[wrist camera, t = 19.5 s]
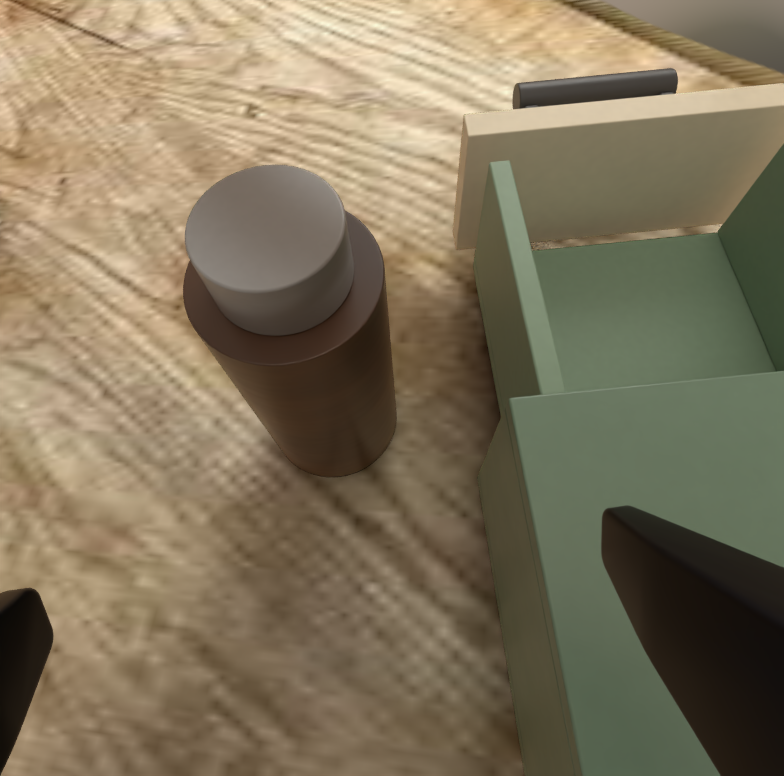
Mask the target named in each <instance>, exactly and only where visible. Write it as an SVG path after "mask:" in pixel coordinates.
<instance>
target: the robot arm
mask: <svg viewBox="0 0 784 776" xmlns="http://www.w3.org/2000/svg"><path fill="white" fill-rule="evenodd" d="M601 555H602V560H603V564H604V567H605V569H606V571H607V573H608V575H609V577H610V579H611V582H612V584H613V586H614V588H615V590H616V592H617V594H618V596H619V598H620V601H621V603H622V605H623V607H624V609H625V611H626V613H627V615H628V617H629V620H630V622H631V624H632V626H633V628H634V630H635V632H636V634H637V636H638V638H639V640H640V642H641V644H642V646H643V648H644V650H645V652H646V654H647V656H648V657H649V659H650V661H651V663H652V664H653V666H654V668H655V669H656V671H657V673H658V674H659V676H660V678H661V679H662V681H663V682H664V684H665V686H666V687H667V689H668V691H669V692H670V694H671V696H672V697H673V699H674V700H675V702H676V704H677V705H678V707H679V709H680V710H681V712H682V714H683V715H684V717H685V718H686V720H687V722H688V723H689V725H690V727H691V728H692V730H693V732H694V733H695V735H696V736H697V738H698V740H699V741H700V743H701V745H702V746H703V748H704V750H705V751H706V753H707V754H708V756H709V758H710V759H711V761H712V763H713V764H714V766H715V768H716V769H717V771H718V772H719V774H720V776H784V567H781V566H779V565H776V564H774V563H771V562H769V561H766V560H764V559H761V558H759V557H756V556H754V555H751V554H749V553H747V552H744V551H742V550H739V549H737V548H734V547H732V546H729V545H727V544H724V543H722V542H719V541H717V540H714V539H712V538H709V537H707V536H705V535H702V534H700V533H697V532H695V531H692V530H690V529H687V528H685V527H682V526H680V525H677V524H675V523H672V522H670V521H668V520H665V519H663V518H660V517H658V516H655V515H653V514H650V513H648V512H645V511H643V510H640V509H638V508H635V507H633V506H630V505H625V506H618V507H611V508H606V509H605V510H604V512H603V515H602V534H601ZM52 643H53V629H52V626H51V623H50V621H49V618H48V616H47V613H46V610H45V608H44V605H43V603H42V600H41V597H40V595H39V593H38V592H37V591H36V590H35V589H32V588H24V589H17V590H9V591H5V592H2V593H0V775H1V773H2V771H3V769H4V767H5V765H6V762H7V760H8V758H9V756H10V754H11V752H12V749H13V747H14V745H15V742H16V740H17V737H18V735H19V732H20V730H21V727H22V725H23V722H24V719H25V717H26V714H27V711H28V709H29V706H30V703H31V701H32V698H33V695H34V693H35V690H36V687H37V685H38V682H39V679H40V677H41V674H42V671H43V669H44V666H45V663H46V661H47V658H48V655H49V653H50V650H51V647H52Z"/></svg>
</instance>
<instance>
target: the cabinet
mask: <svg viewBox="0 0 784 776" xmlns="http://www.w3.org/2000/svg"><path fill="white" fill-rule="evenodd" d="M477 480H478V486H479V492H480V499H481V505H482V511H483V517H484V524H485V530H486V536H487V543H488V549H489V555H490V561H491V568H492V574H493V580H494V586H495V593H496V599H497V605H498V612H499V618H500V624H501V630H502V637H503V643H504V649H505V656H506V662H507V668H508V674H509V681H510V687H511V693H512V700H513V706H514V712H515V718H516V725H517V731H518V737H519V744H520V750H521V756H522V762H523V769H524V775H525V776H720V774H719V772H718V771H717V769H716V768H715V766H714V764H713V763H712V761H711V759H710V758H709V756H708V754H707V753H706V751H705V750H704V748H703V746H702V745H701V743H700V741H699V740H698V738H697V736H696V735H695V733H694V732H693V730H692V728H691V727H690V725H689V723H688V722H687V720H686V718H685V717H684V715H683V714H682V712H681V710H680V709H679V707H678V705H677V704H676V702H675V700H674V699H673V697H672V696H671V694H670V692H669V691H668V689H667V687H666V686H665V684H664V682H663V681H662V679H661V678H660V676H659V674H658V673H657V671H656V669H655V668H654V666H653V664H652V663H651V661H650V659H649V657H648V656H647V654H646V652H645V650H644V648H643V646H642V644H641V642H640V640H639V638H638V636H637V634H636V632H635V630H634V628H633V626H632V624H631V622H630V620H629V617H628V615H627V613H626V611H625V609H624V607H623V605H622V603H621V601H620V598H619V596H618V594H617V592H616V590H615V588H614V586H613V584H612V582H611V579H610V577H609V575H608V573H607V571H606V569H605V567H604V564H603V560H602V555H601V534H602V515H603V512H604V510H605V509H606V508H611V507H618V506H625V505H630V506H633V507H635V508H638V509H640V510H643V511H645V512H648V513H650V514H653V515H655V516H658V517H660V518H663V519H665V520H668V521H670V522H672V523H675V524H677V525H680V526H682V527H685V528H687V529H690V530H692V531H695V532H697V533H700V534H702V535H705V536H707V537H709V538H712V539H714V540H717V541H719V542H722V543H724V544H727V545H729V546H732V547H734V548H737V549H739V550H742V551H744V552H747V553H749V554H751V555H754V556H756V557H759V558H761V559H764V560H766V561H769V562H771V563H774V564H776V565H779V566H781V567H784V371H777V372H767V373H757V374H747V375H737V376H726V377H716V378H706V379H696V380H686V381H676V382H666V383H656V384H646V385H635V386H625V387H615V388H605V389H595V390H585V391H575V392H565V393H555V394H545V395H534V396H524V397H514V398H509V399H508V402H507V404H506V407H505V408H504V411H503V413H502V416H501V418H500V421H499V424H498V426H497V429H496V431H495V434H494V436H493V439H492V441H491V444H490V446H489V449H488V451H487V454H486V456H485V459H484V461H483V464H482V467H481V469H480V472H479V474H478V477H477Z"/></svg>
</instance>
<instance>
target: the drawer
mask: <svg viewBox="0 0 784 776" xmlns="http://www.w3.org/2000/svg"><path fill="white" fill-rule="evenodd" d="M677 84H678V77H677V73H676V71H675V70H674V69H672V68H668V69H658V70H648V71H638V72H627V73H617V74H607V75H596V76H586V77H576V78H565V79H555V80H545V81H535V82H524V83H517V84H516V85H515V87H514V91H513V110H503V111H492V112H482V113H472V114H464V117H463V128H462V138H461V149H460V159H459V170H458V181H457V191H456V202H455V213H454V223H453V236H454V241H455V247H456V250H461V249H471V248H476V250H475V257H474V263H473V270H474V275H475V281H476V286H477V291H478V297H479V302H480V308H481V313H482V318H483V324H484V329H485V334H486V340H487V345H488V350H489V356H490V361H491V367H492V372H493V377H494V383H495V388H496V393H497V399H498V404H499V410H500V415H501V416H502V413H503V411H504V408H505V407H506V404H507V402H508V399H509V398H514V397H524V396H534V395H545V394H555V393H565V392H575V391H585V390H595V389H605V388H615V387H625V386H635V385H646V384H656V383H666V382H676V381H686V380H696V379H706V378H716V377H726V376H737V375H747V374H757V373H767V372H777V371H784V83H780V84H770V85H760V86H749V87H739V88H729V89H719V90H708V91H698V92H688V93H677V94H675V93H676V90H677ZM716 224H723V225H722V226H721V228H720V229H719V230H718V233H708V234H698V235H688V236H678V237H667V238H657V239H647V240H637V241H627V242H616V243H606V244H596V245H586V246H576V247H565V248H555V249H545V250H535V251H532V249H531V245H530V243H532V242H543V241H553V240H563V239H573V238H583V237H594V236H604V235H614V234H624V233H634V232H645V231H655V230H665V229H675V228H685V227H696V226H706V225H716Z"/></svg>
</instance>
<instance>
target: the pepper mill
mask: <svg viewBox="0 0 784 776" xmlns="http://www.w3.org/2000/svg"><path fill="white" fill-rule="evenodd" d="M185 245H186V251H187V254H188V256H189V259H190V261H189V263H188V267H187V270H186V273H185V278H184V284H183V298H184V304H185V309H186V312H187V315H188V318H189V320H190V322H191V324H192V326H193V328H194V329H195V331H196V332H197V333H198V335H199V336H200V337H201V339H202V340H203V342H204V343H205V344H206V346H207V347H208V349H209V350H210V351H211V353H212V354H213V356H214V357H215V358H216V360H217V361H218V363H219V364H220V365H221V367H222V368H223V369H224V371H225V372H226V374H227V375H228V376H229V378H230V379H231V381H232V382H233V383H234V385H235V386H236V388H237V389H238V390H239V392H240V393H241V394H242V396H243V397H244V399H245V400H246V401H247V403H248V404H249V406H250V407H251V408H252V410H253V411H254V413H255V414H256V415H257V417H258V418H259V420H260V421H261V422H262V424H263V425H264V426H265V428H266V429H267V431H268V432H269V433H270V435H271V436H272V438H273V439H274V440H275V442H276V443H277V445H278V446H279V447H280V449H281V450H282V452H283V453H284V454H285V455H286V457H287V458H288V459H289V460H290V461H291V462H292V463H293V464H295V465H296V466H297V467H299V468H300V469H302V470H304V471H306V472H308V473H311V474H314V475H318V476H324V477H340V476H346V475H350V474H353V473H356V472H358V471H360V470H363V469H364V468H366V467H368V466H369V465H371V464H372V463H373V462H374V461H376V460H377V459H378V458H379V457H380V456H381V455H382V454H383V452H384V451H385V450H386V448H387V447H388V445H389V443H390V441H391V439H392V437H393V434H394V430H395V427H396V402H395V390H394V378H393V366H392V354H391V342H390V330H389V318H388V305H387V293H386V281H385V269H384V262H383V257H382V254H381V251H380V248H379V245H378V244H377V242H376V240H375V238H374V236H373V235H372V234H371V232H370V231H369V230H368V228H367V227H366V226H365V225H364V224H363V223H362V222H361V221H360V220H358V219H357V218H356V217H354V216H353V215H352V214H350V213H349V212H347V211H345V209H344V206H343V203H342V201H341V199H340V197H339V195H338V194H337V193H336V191H335V190H334V189H333V188H332V187H331V186H330V185H329V184H328V183H327V182H326V181H325V180H323V179H322V178H321V177H319V176H317V175H316V174H314V173H312V172H310V171H307V170H304V169H301V168H298V167H293V166H287V165H263V166H256V167H252V168H248V169H244V170H241V171H239V172H236V173H234V174H231V175H229V176H227V177H225V178H224V179H222V180H220V181H219V182H217V183H216V184H215V185H213V186H212V187H211V188H210V189H208V190H207V191H206V192H205V193H204V194H203V195H202V196H201V198H200V199H199V200H198V201H197V203H196V204H195V206H194V207H193V209H192V211H191V213H190V215H189V218H188V221H187V224H186V230H185Z"/></svg>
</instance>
